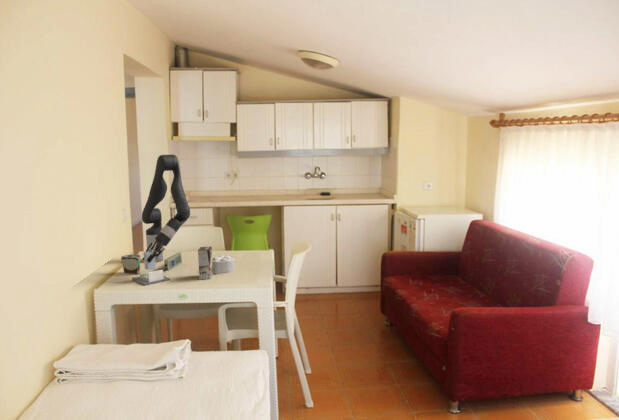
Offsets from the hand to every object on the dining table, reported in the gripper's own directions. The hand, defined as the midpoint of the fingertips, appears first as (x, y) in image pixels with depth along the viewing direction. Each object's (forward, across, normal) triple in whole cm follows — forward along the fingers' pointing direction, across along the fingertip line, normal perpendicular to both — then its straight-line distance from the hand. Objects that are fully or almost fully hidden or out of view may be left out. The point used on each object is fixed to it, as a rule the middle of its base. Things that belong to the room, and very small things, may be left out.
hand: (146, 260), depth 259 cm
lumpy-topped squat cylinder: (-20, +13, +36) cm, 43 cm away
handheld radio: (-8, -17, +24) cm, 31 cm away
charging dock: (+6, 0, +9) cm, 11 cm away
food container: (+6, -22, +9) cm, 25 cm away
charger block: (+2, 0, +5) cm, 5 cm away
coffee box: (-10, +17, +26) cm, 33 cm away
